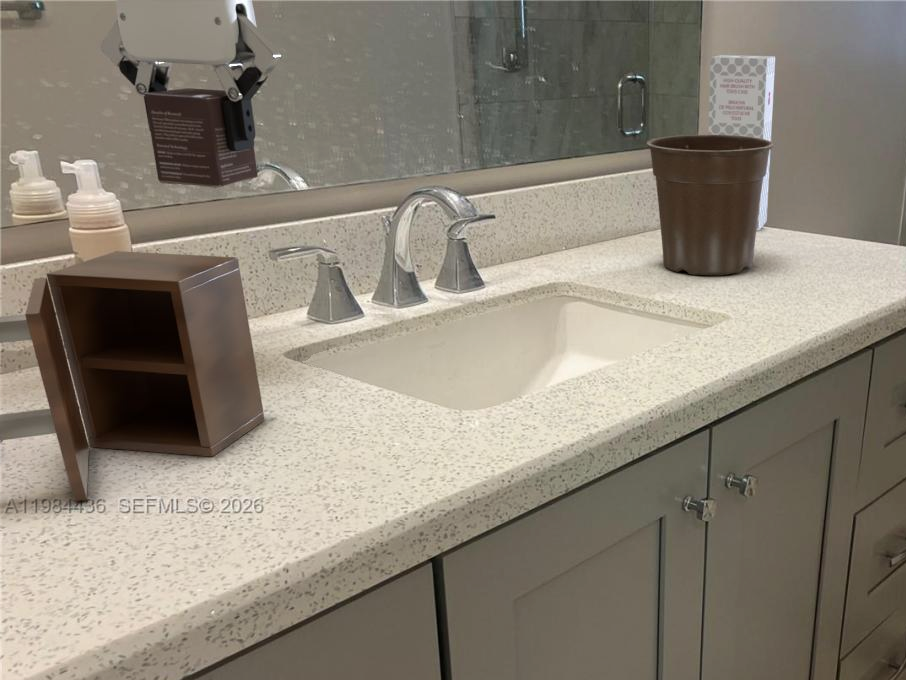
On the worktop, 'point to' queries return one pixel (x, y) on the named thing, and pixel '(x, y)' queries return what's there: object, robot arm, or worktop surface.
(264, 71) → the robot arm
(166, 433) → the cabinet
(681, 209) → the plant pot
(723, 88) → the box
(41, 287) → the door
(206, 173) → the box
